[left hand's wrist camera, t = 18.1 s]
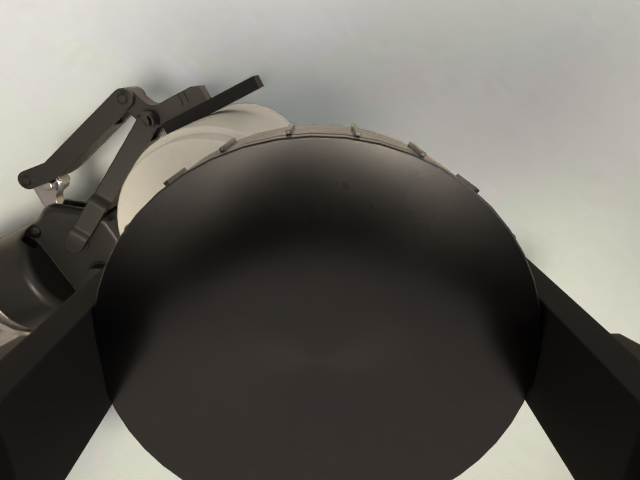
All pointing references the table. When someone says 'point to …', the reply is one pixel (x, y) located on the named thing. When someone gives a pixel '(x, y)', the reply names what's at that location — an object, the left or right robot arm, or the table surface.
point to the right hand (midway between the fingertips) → (294, 153)
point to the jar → (189, 151)
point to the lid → (317, 314)
